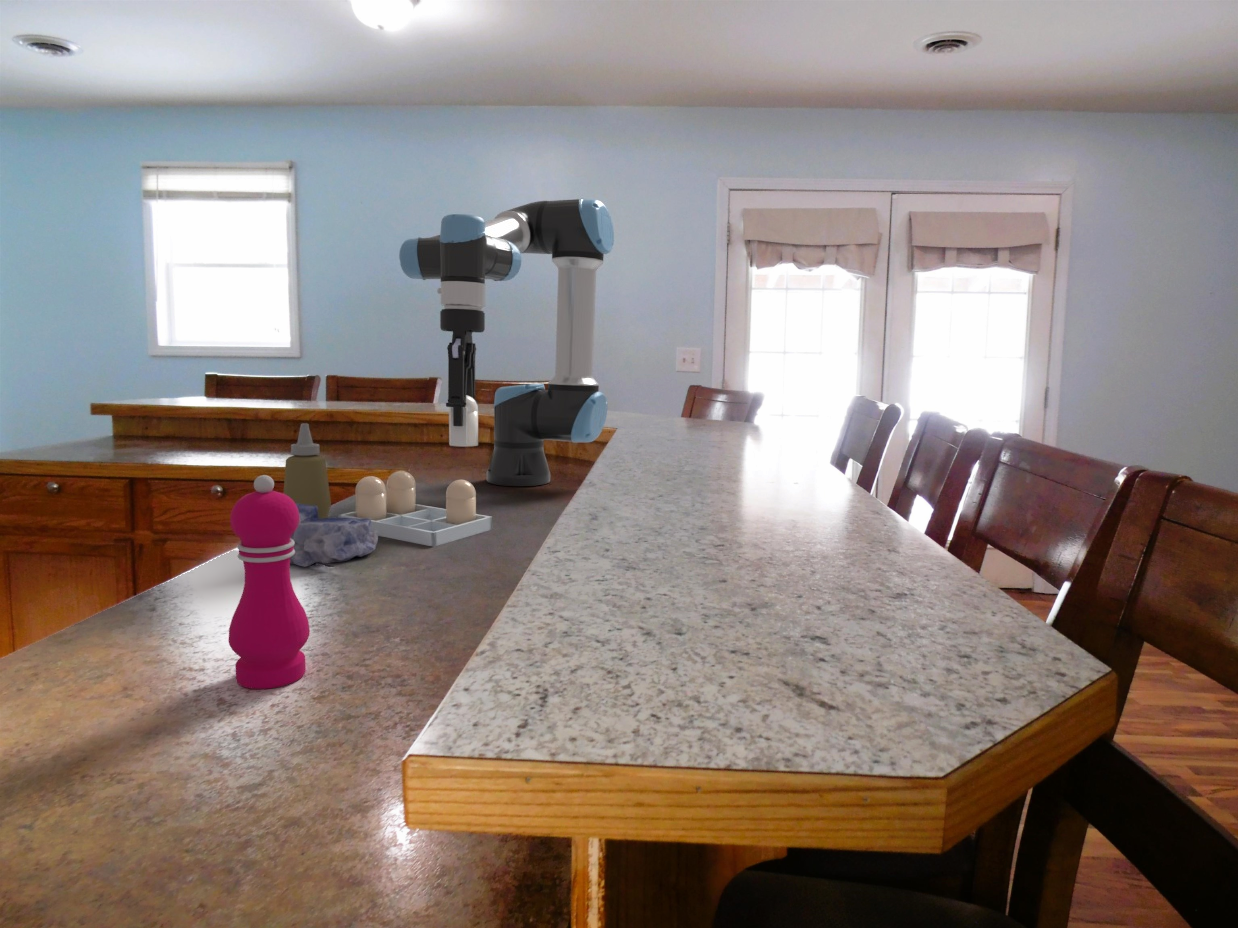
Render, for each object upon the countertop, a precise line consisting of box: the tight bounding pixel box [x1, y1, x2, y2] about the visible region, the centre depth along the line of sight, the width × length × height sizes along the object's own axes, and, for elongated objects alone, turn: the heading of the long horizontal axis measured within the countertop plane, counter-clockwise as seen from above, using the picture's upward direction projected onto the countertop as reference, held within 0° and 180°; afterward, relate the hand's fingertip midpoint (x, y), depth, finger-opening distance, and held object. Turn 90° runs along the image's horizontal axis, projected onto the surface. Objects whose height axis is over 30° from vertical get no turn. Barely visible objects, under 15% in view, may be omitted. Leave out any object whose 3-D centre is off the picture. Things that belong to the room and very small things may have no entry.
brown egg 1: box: [355, 475, 387, 521], centre depth 136 cm, size 5×5×9 cm
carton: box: [337, 503, 494, 548], centre depth 136 cm, size 15×22×3 cm
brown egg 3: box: [445, 479, 477, 525], centre depth 135 cm, size 5×5×9 cm
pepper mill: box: [228, 474, 311, 690], centre depth 76 cm, size 7×7×20 cm
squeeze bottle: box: [282, 423, 332, 519], centre depth 138 cm, size 8×8×18 cm
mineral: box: [290, 503, 379, 568], centre depth 117 cm, size 14×10×10 cm
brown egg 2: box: [386, 470, 417, 515], centre depth 142 cm, size 5×5×9 cm
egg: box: [448, 395, 479, 447], centre depth 139 cm, size 5×5×9 cm
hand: (462, 442), depth 139 cm, fingers closed on egg, 5 cm apart
